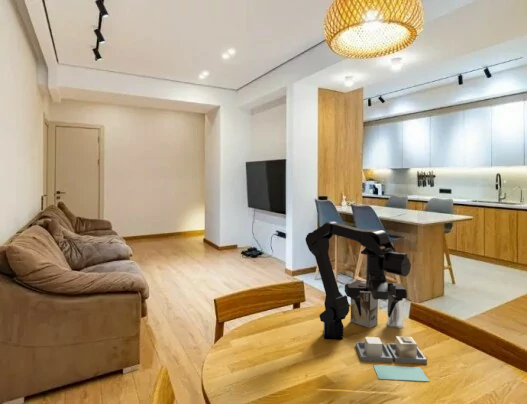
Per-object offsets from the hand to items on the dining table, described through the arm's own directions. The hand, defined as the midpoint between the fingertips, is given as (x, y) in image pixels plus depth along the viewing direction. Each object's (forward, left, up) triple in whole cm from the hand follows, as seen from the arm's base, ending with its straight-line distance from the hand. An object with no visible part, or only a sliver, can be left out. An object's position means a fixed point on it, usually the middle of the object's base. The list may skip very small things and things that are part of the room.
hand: (374, 316), depth 111 cm
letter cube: (+10, 0, -13) cm, 16 cm away
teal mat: (+5, -11, -13) cm, 18 cm away
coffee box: (+2, +25, -13) cm, 28 cm away
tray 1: (0, 0, -13) cm, 13 cm away
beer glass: (+14, +24, -13) cm, 31 cm away
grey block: (0, 0, -13) cm, 13 cm away
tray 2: (+10, 0, -13) cm, 17 cm away
